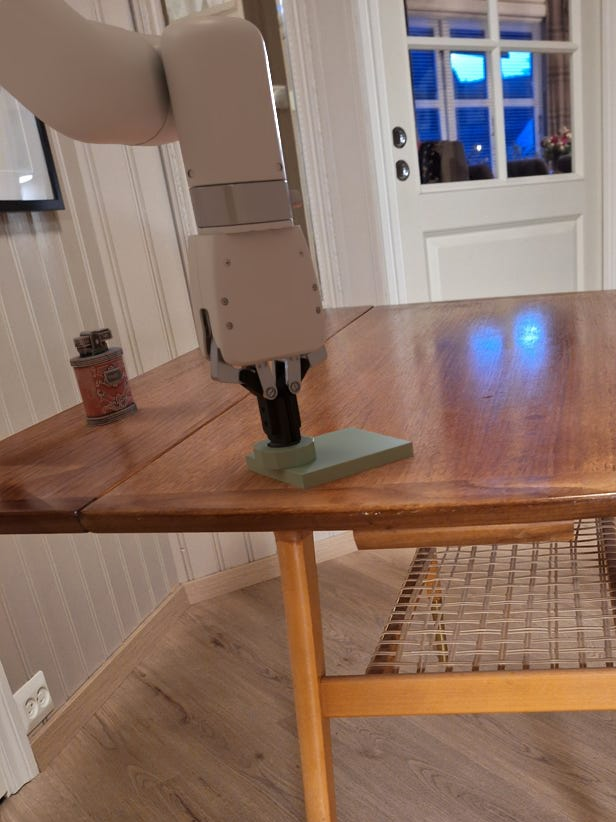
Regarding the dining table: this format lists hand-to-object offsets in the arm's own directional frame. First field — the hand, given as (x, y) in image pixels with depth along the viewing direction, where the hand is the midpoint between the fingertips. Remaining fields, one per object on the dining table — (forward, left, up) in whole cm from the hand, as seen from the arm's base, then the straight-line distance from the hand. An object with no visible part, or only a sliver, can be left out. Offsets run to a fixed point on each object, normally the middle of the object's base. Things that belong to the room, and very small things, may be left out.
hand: (284, 439), depth 77 cm
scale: (+4, 0, -3) cm, 6 cm away
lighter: (-1, +40, -4) cm, 40 cm away
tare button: (0, 0, -2) cm, 2 cm away
